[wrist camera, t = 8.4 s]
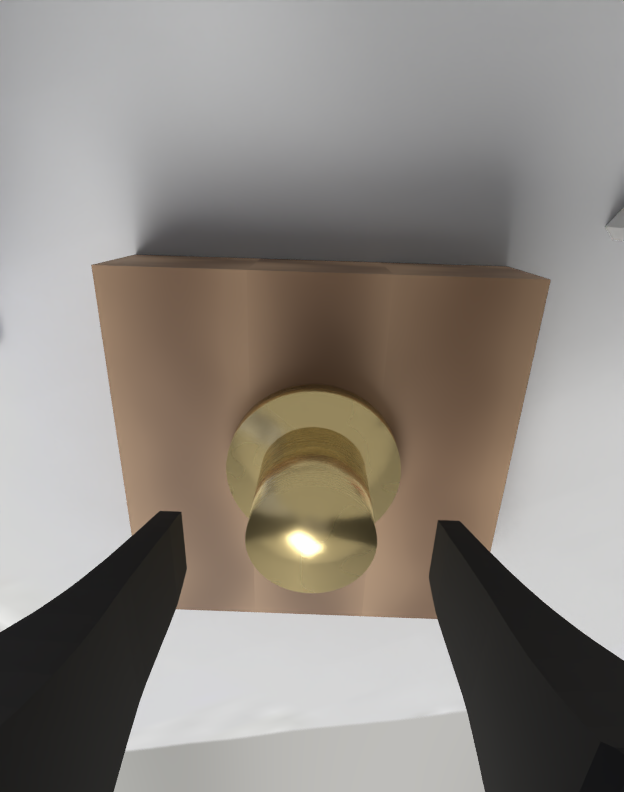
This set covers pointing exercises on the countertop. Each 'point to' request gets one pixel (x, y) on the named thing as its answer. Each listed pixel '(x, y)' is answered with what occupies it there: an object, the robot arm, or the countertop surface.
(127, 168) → the countertop surface
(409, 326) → the hitch block
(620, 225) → the pliers
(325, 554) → the pin
